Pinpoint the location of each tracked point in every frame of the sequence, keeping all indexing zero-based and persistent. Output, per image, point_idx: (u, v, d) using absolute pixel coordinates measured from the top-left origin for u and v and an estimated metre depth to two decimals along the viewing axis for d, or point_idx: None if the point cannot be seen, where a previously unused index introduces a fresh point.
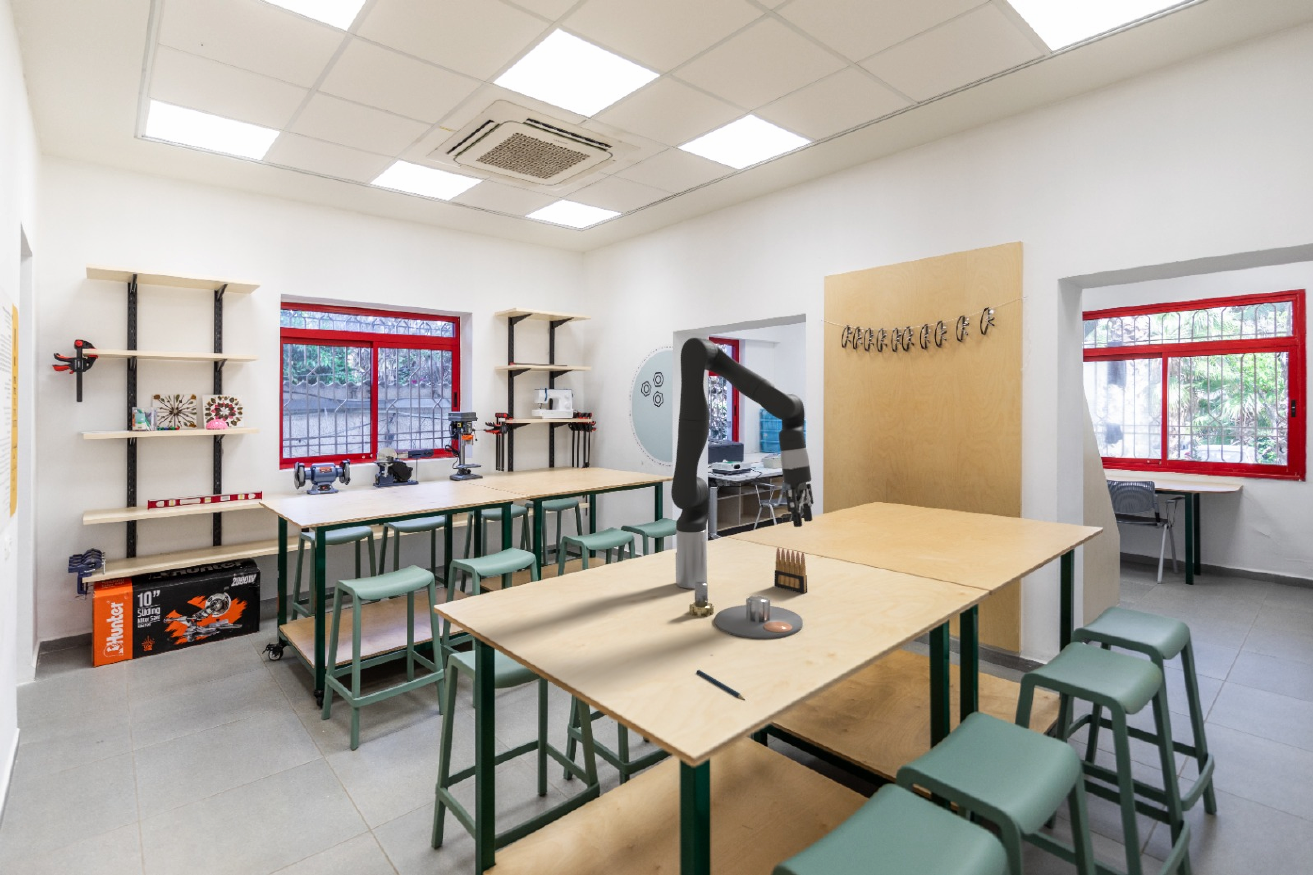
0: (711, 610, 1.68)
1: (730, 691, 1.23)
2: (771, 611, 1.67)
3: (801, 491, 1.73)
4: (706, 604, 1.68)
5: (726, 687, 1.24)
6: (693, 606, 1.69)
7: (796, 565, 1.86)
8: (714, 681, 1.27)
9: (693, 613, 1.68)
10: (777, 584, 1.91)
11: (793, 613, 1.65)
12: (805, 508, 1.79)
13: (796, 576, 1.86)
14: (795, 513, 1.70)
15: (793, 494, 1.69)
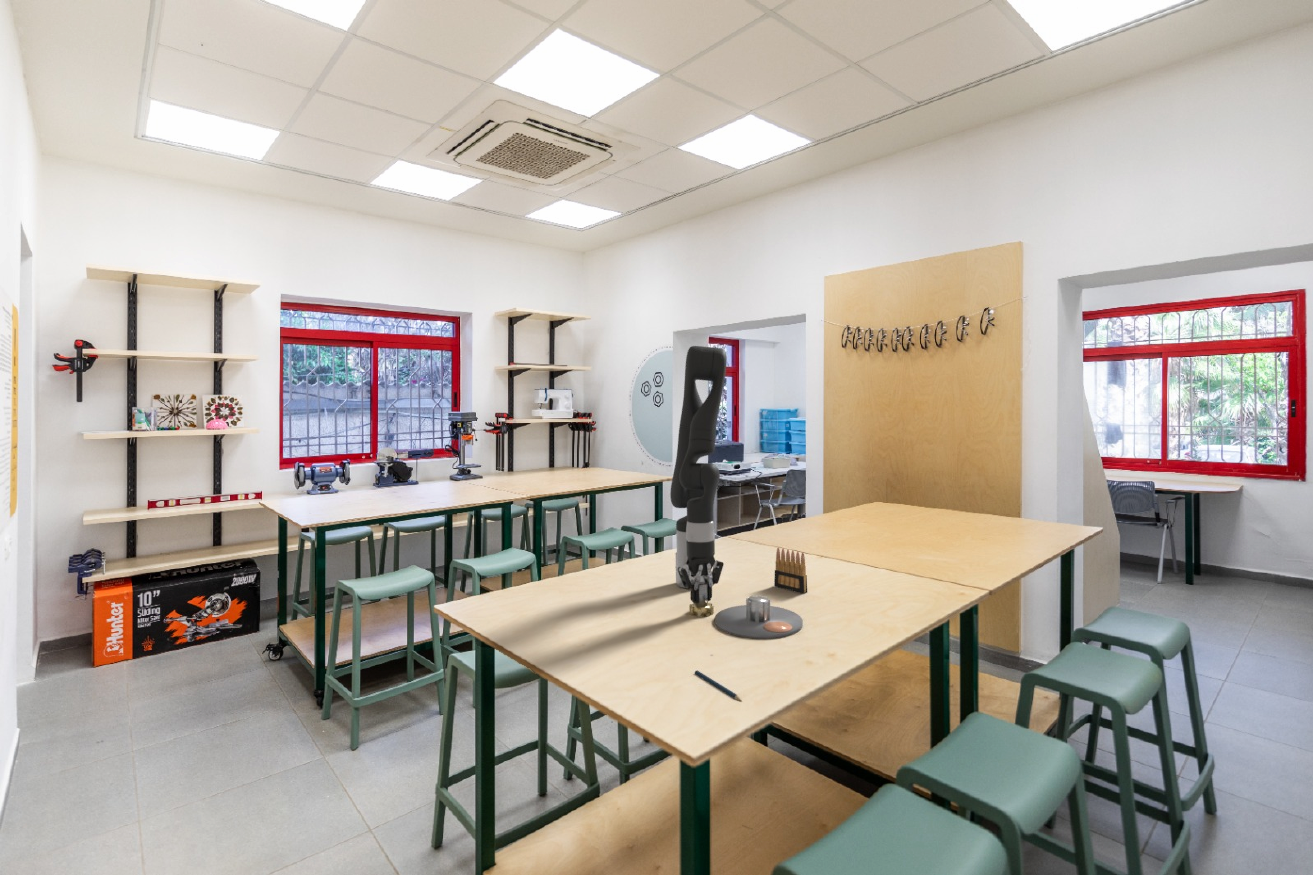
0: (711, 610, 1.68)
1: (727, 692, 1.23)
2: (771, 611, 1.67)
3: (697, 567, 1.67)
4: (706, 604, 1.68)
5: (723, 688, 1.24)
6: (693, 606, 1.69)
7: (796, 565, 1.86)
8: (712, 682, 1.27)
9: (693, 613, 1.68)
10: (777, 584, 1.91)
11: (793, 613, 1.65)
12: None
13: (796, 576, 1.86)
14: None
15: (682, 574, 1.65)
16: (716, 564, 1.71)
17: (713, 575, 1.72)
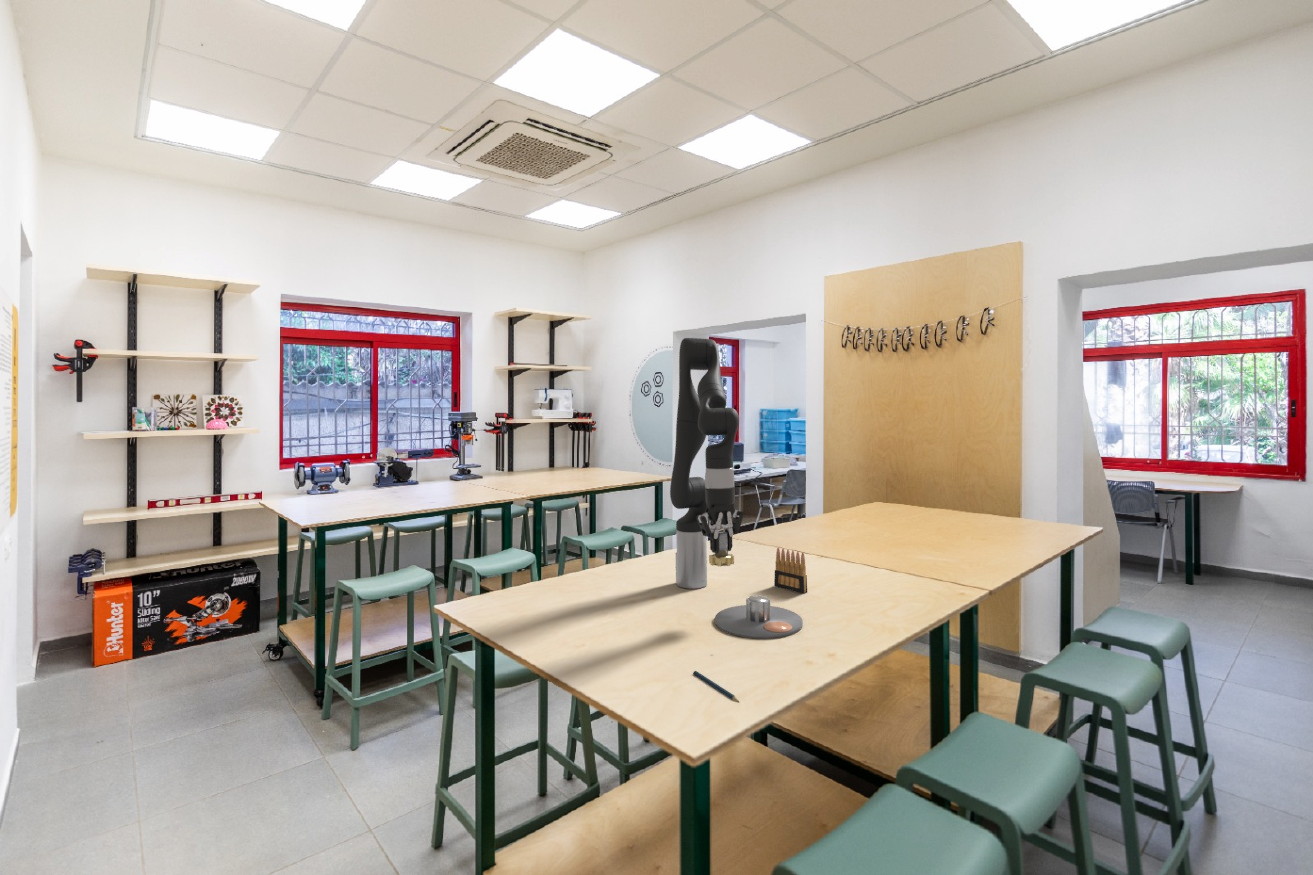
0: (732, 560, 1.63)
1: (725, 693, 1.22)
2: (771, 611, 1.67)
3: (717, 515, 1.61)
4: (726, 554, 1.63)
5: (721, 689, 1.24)
6: (713, 556, 1.63)
7: (796, 565, 1.86)
8: (710, 682, 1.27)
9: (713, 563, 1.62)
10: (777, 584, 1.91)
11: (793, 613, 1.65)
12: None
13: (796, 576, 1.86)
14: (712, 539, 1.62)
15: (702, 522, 1.60)
16: (736, 513, 1.65)
17: (733, 525, 1.66)
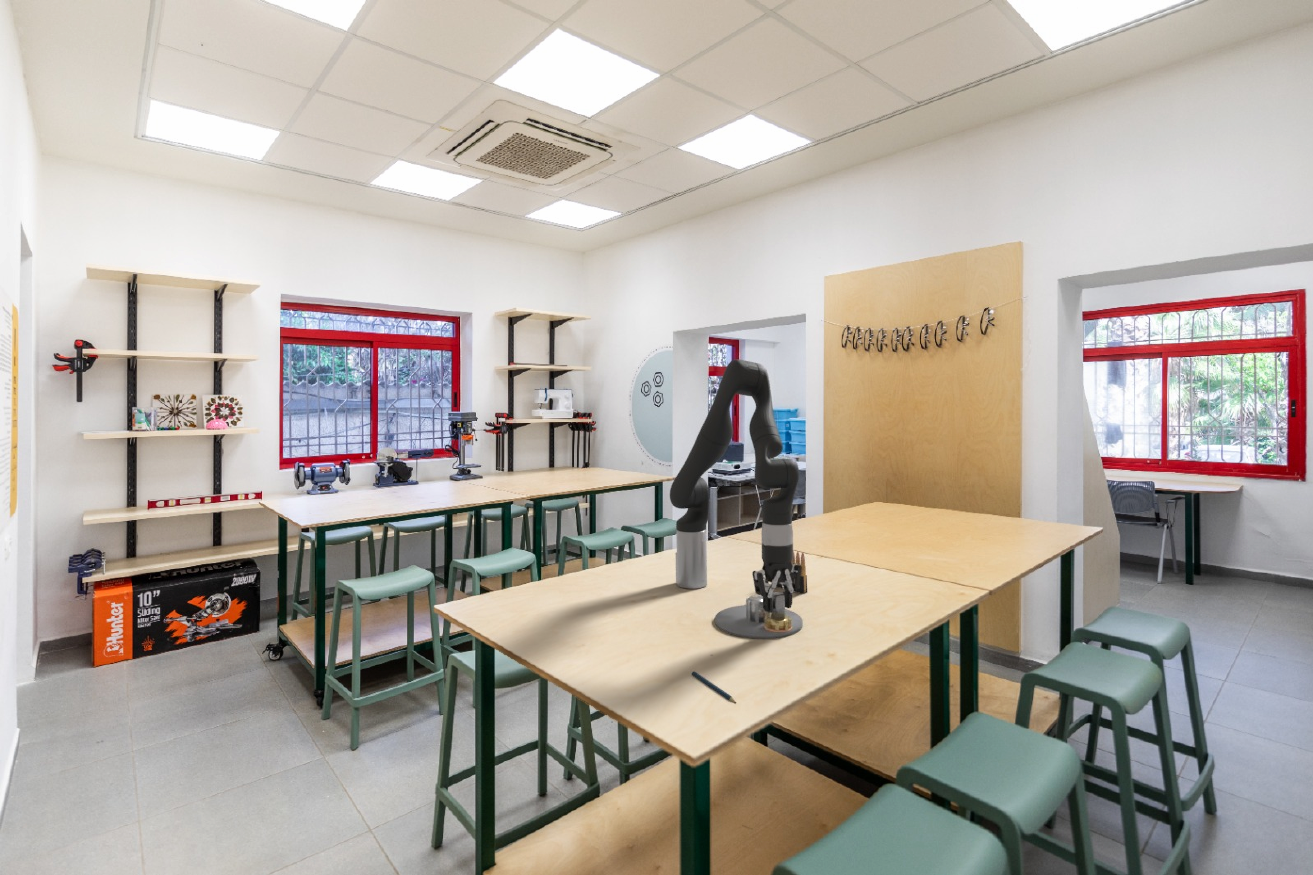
0: (789, 623, 1.54)
1: (722, 693, 1.22)
2: None
3: (775, 572, 1.52)
4: (784, 617, 1.54)
5: (719, 689, 1.23)
6: (769, 619, 1.54)
7: None
8: (708, 683, 1.26)
9: (770, 627, 1.53)
10: (777, 584, 1.91)
11: (793, 613, 1.65)
12: (785, 592, 1.56)
13: None
14: (765, 598, 1.52)
15: (758, 579, 1.50)
16: (794, 568, 1.56)
17: (792, 580, 1.58)
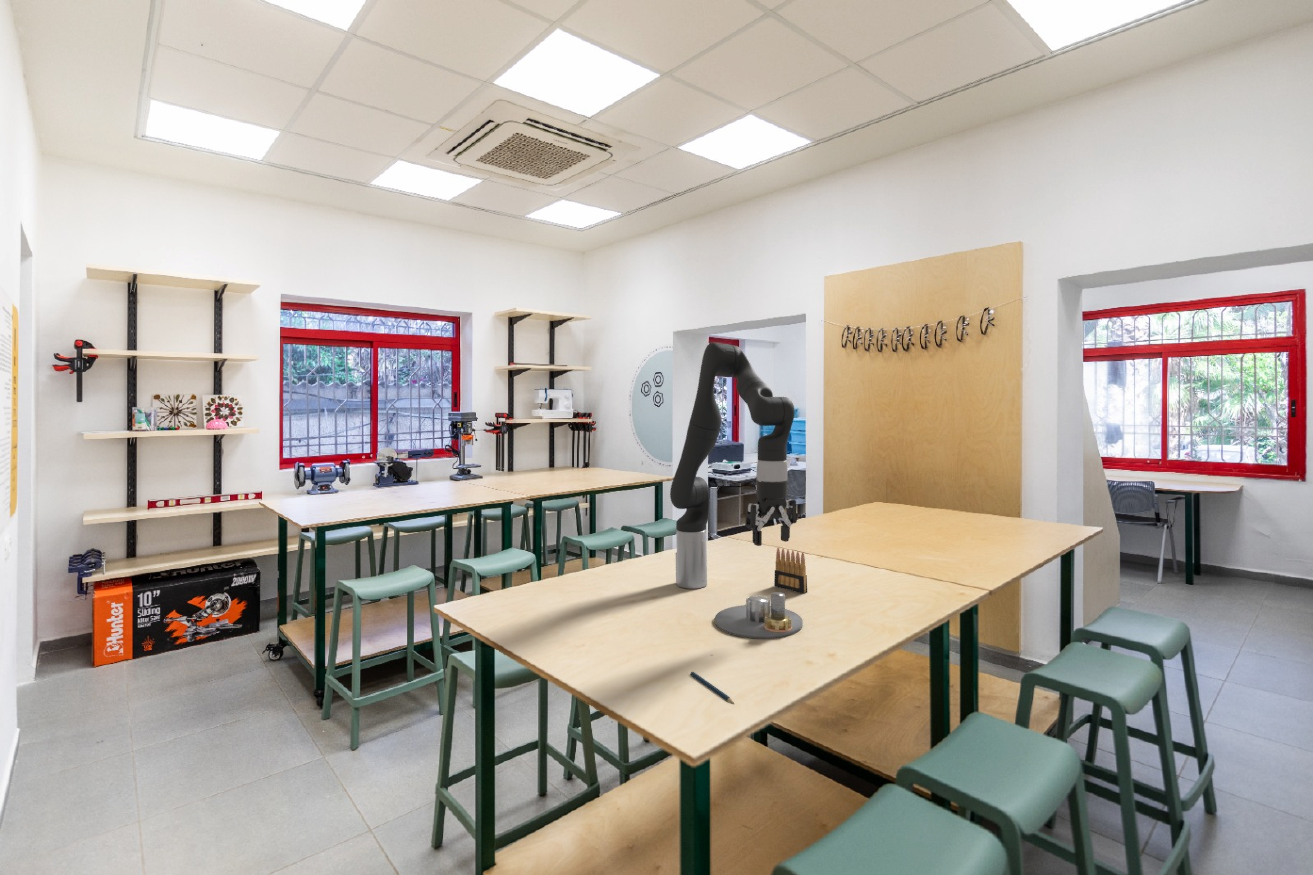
0: (789, 623, 1.54)
1: (720, 694, 1.22)
2: None
3: (769, 508, 1.54)
4: (784, 617, 1.54)
5: (717, 690, 1.23)
6: (769, 619, 1.54)
7: (796, 565, 1.86)
8: (706, 683, 1.26)
9: (770, 627, 1.53)
10: (777, 584, 1.91)
11: (793, 613, 1.65)
12: (783, 526, 1.59)
13: (796, 576, 1.86)
14: (754, 530, 1.54)
15: (751, 510, 1.52)
16: (788, 504, 1.58)
17: (789, 515, 1.60)
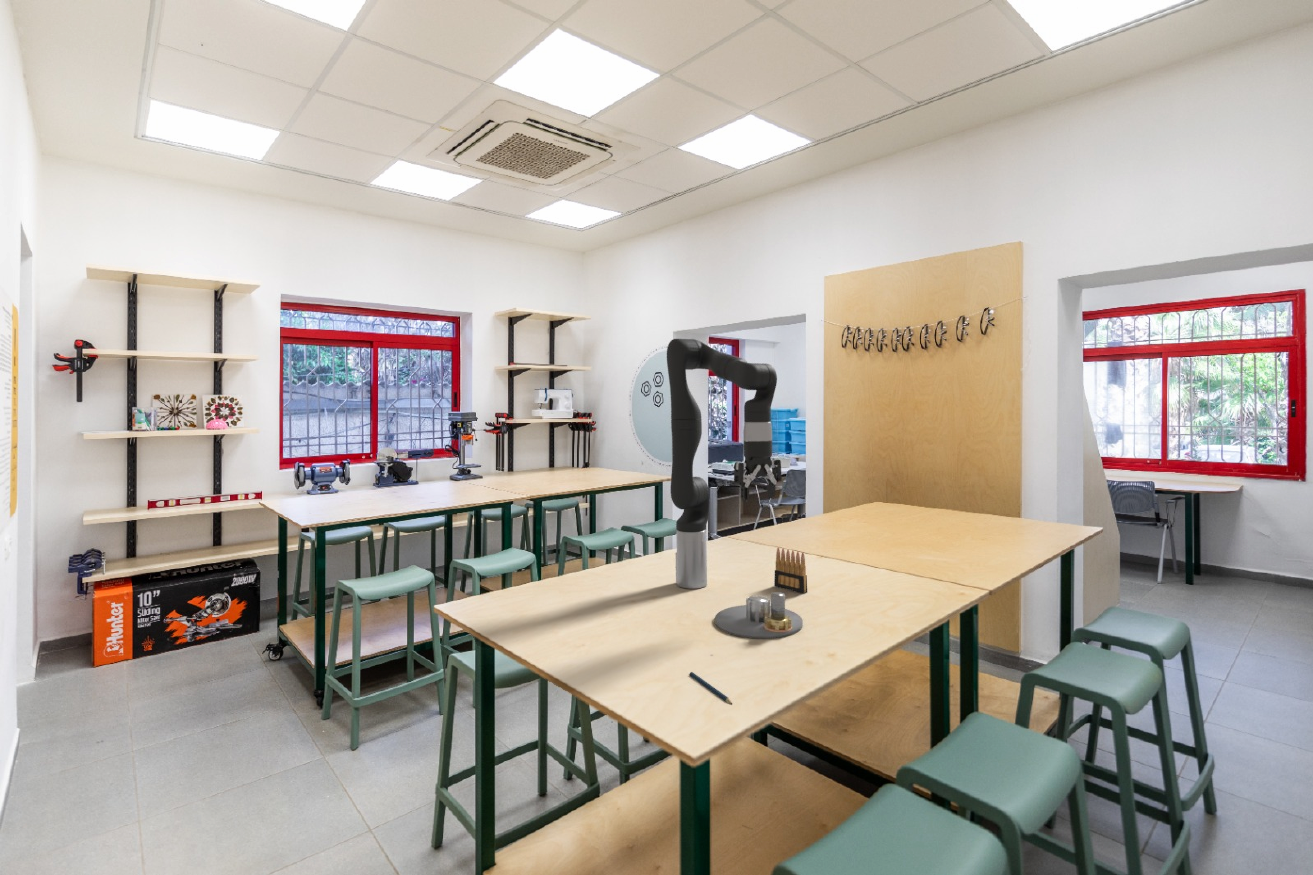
0: (789, 623, 1.54)
1: (719, 694, 1.22)
2: None
3: (755, 466, 1.66)
4: (784, 617, 1.54)
5: (715, 690, 1.23)
6: (769, 619, 1.54)
7: (796, 565, 1.86)
8: (705, 684, 1.26)
9: (770, 627, 1.53)
10: (777, 584, 1.91)
11: (793, 613, 1.65)
12: (769, 484, 1.71)
13: (796, 576, 1.86)
14: (742, 487, 1.66)
15: (739, 467, 1.64)
16: (774, 463, 1.70)
17: (774, 474, 1.72)
